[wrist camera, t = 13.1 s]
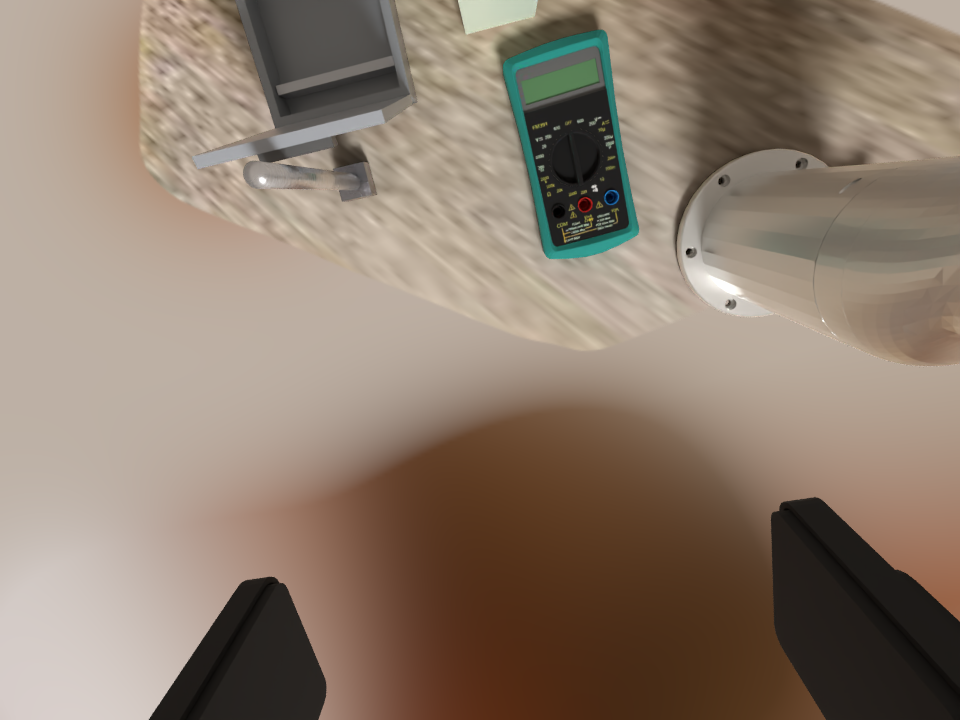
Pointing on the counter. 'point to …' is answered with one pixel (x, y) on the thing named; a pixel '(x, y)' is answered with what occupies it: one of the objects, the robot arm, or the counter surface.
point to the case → (326, 55)
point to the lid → (304, 134)
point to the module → (494, 13)
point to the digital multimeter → (572, 144)
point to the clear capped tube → (312, 178)
